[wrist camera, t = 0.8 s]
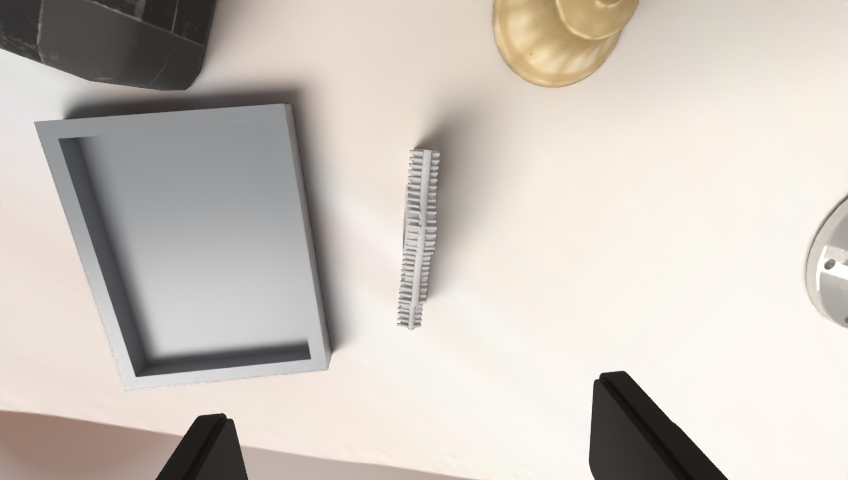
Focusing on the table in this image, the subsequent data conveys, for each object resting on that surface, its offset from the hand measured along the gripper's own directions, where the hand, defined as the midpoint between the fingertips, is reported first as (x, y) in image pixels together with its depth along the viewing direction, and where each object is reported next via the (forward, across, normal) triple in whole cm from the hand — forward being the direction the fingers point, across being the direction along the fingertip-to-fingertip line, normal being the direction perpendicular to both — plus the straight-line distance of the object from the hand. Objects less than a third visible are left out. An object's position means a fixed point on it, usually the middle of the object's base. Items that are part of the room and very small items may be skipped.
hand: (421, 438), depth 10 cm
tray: (+19, +13, 0) cm, 23 cm away
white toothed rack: (+19, -1, 0) cm, 19 cm away
